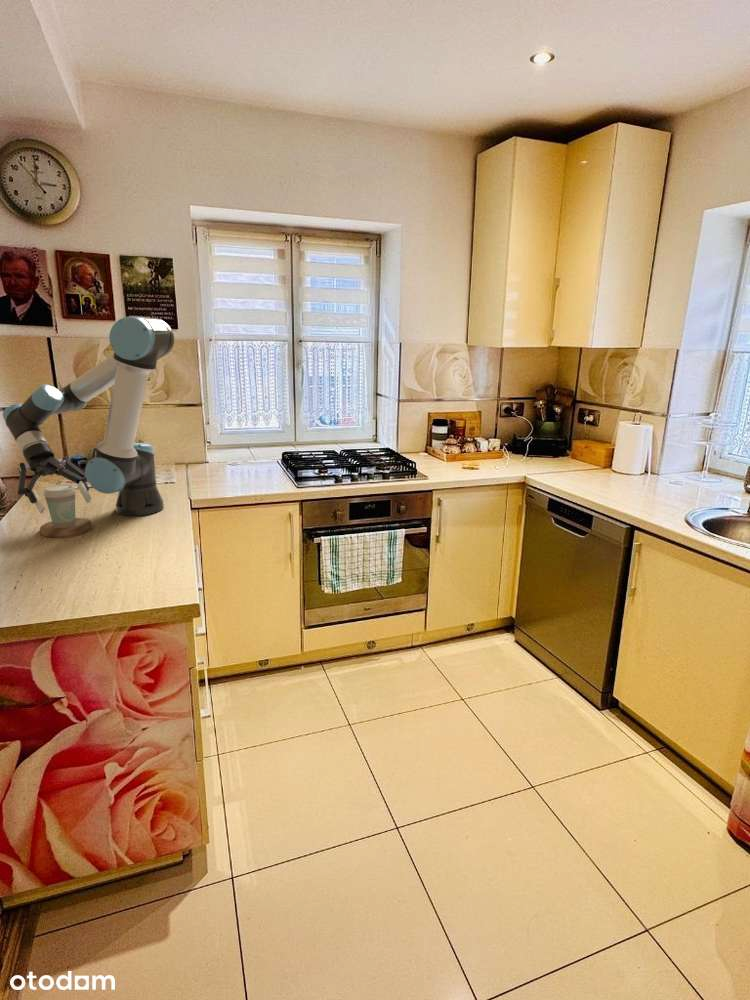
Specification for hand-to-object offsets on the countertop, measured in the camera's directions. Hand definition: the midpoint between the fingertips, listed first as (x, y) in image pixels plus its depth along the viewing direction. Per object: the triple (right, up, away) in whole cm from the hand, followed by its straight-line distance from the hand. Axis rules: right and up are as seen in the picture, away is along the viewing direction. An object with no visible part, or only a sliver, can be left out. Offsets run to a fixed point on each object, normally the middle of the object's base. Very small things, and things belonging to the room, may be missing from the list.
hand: (66, 505), depth 166 cm
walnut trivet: (-2, -8, +4) cm, 8 cm away
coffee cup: (-2, -6, +3) cm, 7 cm away
